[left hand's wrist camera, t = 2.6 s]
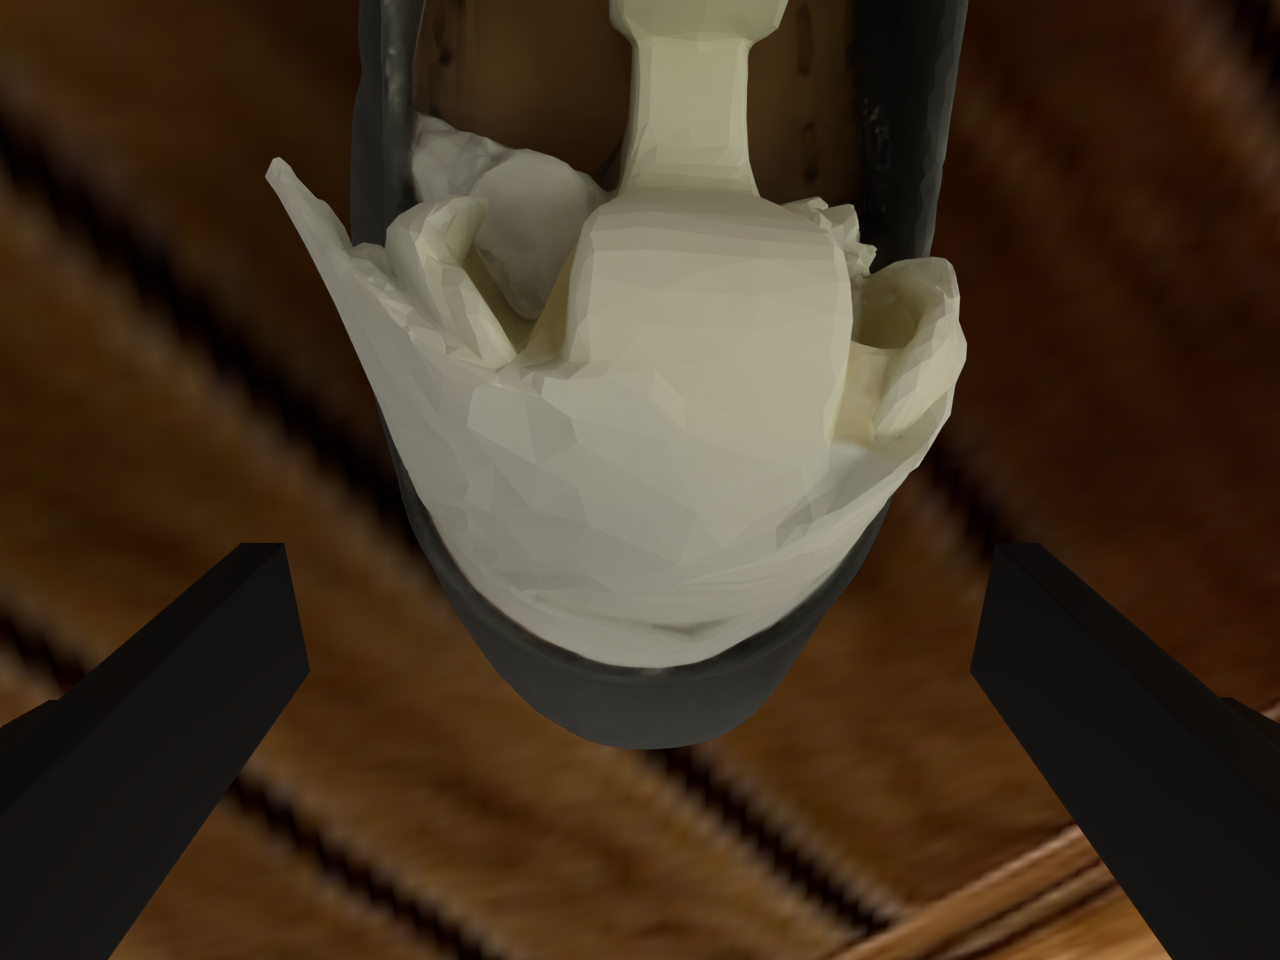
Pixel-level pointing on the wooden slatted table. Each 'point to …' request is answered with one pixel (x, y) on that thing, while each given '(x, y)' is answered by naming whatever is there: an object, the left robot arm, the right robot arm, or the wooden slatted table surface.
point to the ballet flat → (647, 324)
